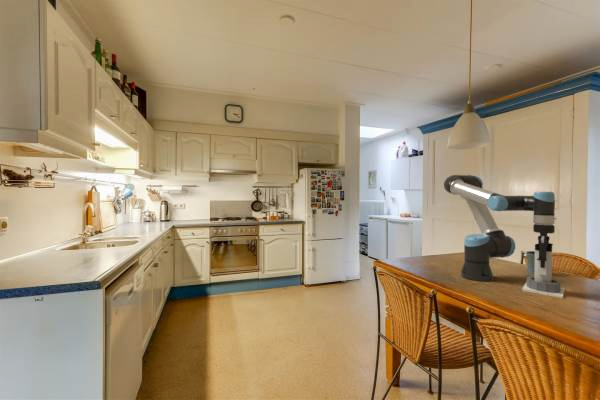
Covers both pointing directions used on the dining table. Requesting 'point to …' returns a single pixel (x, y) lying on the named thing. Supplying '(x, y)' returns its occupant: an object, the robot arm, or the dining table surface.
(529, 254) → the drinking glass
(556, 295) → the cup holder
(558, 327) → the dining table surface
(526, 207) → the robot arm
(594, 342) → the dining table surface
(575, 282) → the dining table surface
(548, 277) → the travel mug
